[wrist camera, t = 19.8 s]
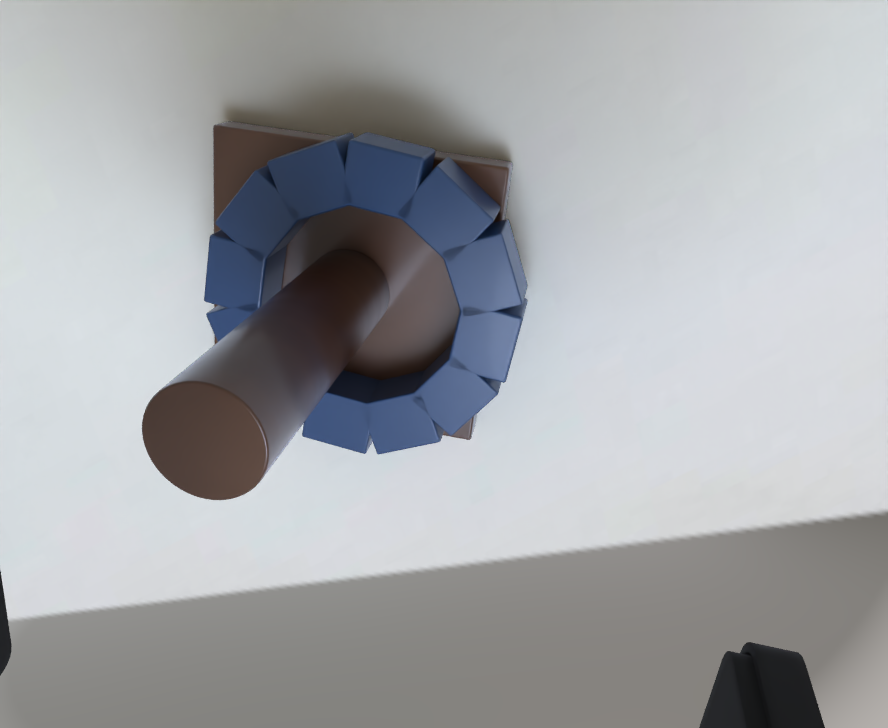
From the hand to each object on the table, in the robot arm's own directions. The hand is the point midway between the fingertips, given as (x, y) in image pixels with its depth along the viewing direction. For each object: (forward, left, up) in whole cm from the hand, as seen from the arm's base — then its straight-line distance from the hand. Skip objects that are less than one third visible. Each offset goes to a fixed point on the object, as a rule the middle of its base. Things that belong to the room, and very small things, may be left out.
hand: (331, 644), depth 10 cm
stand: (+4, 0, -14) cm, 15 cm away
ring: (+3, 0, -13) cm, 13 cm away
